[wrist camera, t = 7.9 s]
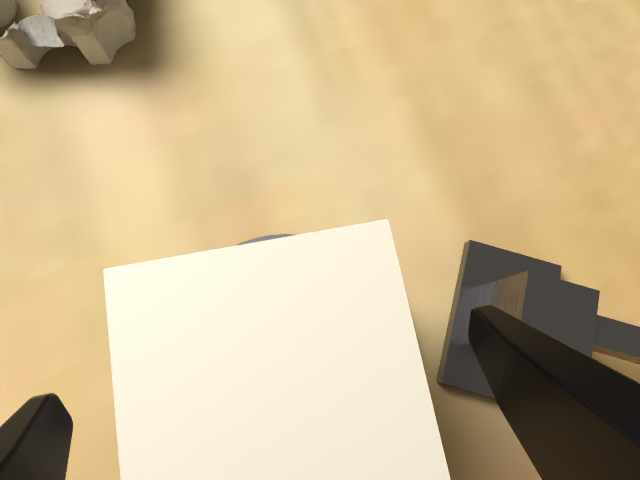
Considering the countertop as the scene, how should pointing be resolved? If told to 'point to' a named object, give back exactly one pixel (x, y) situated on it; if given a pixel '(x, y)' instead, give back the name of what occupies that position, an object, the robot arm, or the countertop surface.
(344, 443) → the cream link
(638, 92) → the countertop surface
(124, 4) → the egg carton
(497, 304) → the black stand
